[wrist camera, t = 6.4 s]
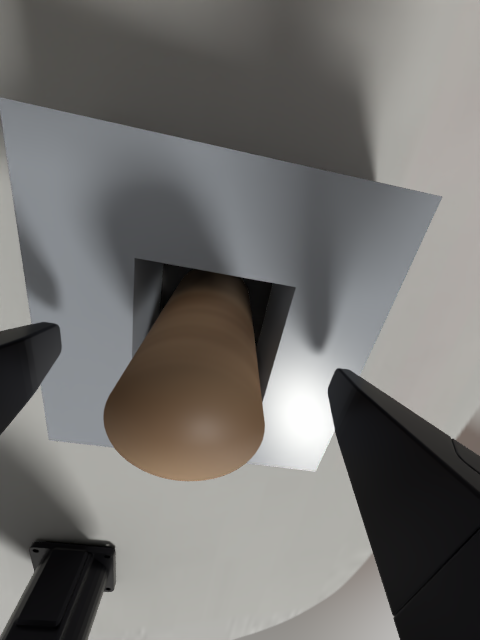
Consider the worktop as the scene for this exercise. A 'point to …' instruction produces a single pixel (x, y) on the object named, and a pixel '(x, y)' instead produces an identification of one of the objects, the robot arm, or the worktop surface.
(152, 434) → the peg
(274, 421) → the socket
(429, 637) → the robot arm
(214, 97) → the worktop surface
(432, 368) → the worktop surface
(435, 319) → the worktop surface
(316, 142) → the worktop surface
